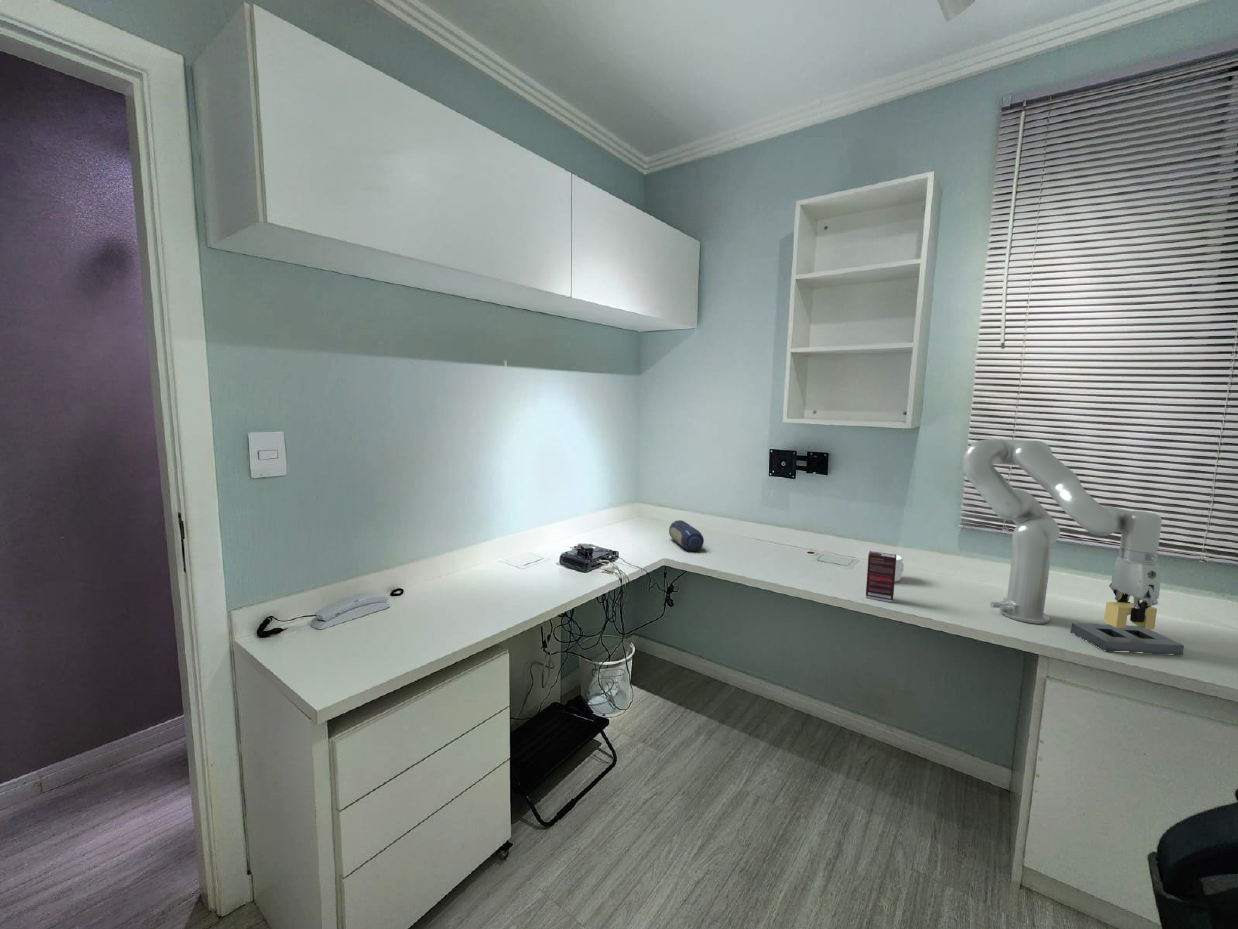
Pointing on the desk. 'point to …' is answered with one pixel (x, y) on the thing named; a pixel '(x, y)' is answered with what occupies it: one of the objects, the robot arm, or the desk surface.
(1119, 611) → the yellow u-shaped block
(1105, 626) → the grey slotted board
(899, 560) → the mug
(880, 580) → the supplement box
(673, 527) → the portable speaker
